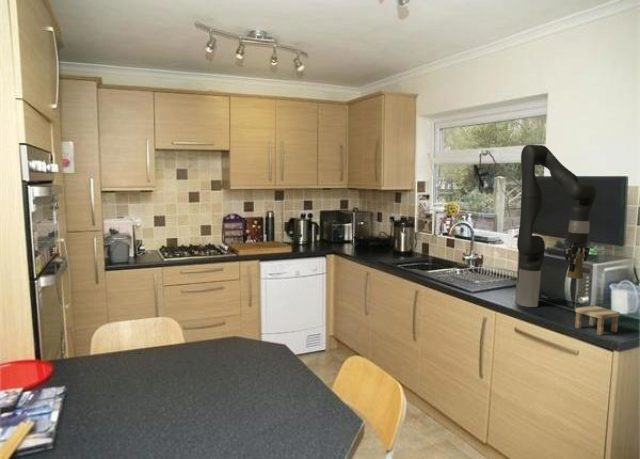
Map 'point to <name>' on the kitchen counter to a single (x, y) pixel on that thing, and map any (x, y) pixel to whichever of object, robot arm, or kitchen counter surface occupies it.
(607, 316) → the birch stool
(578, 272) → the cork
